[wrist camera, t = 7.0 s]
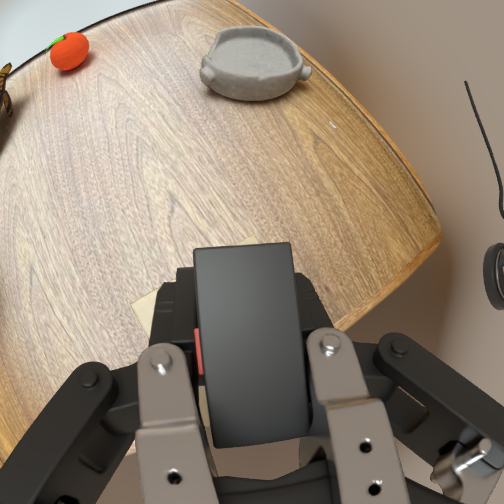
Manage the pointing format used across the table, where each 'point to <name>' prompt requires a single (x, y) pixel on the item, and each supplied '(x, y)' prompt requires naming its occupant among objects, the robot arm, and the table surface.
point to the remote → (250, 344)
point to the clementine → (69, 50)
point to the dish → (252, 64)
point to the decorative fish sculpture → (3, 97)
